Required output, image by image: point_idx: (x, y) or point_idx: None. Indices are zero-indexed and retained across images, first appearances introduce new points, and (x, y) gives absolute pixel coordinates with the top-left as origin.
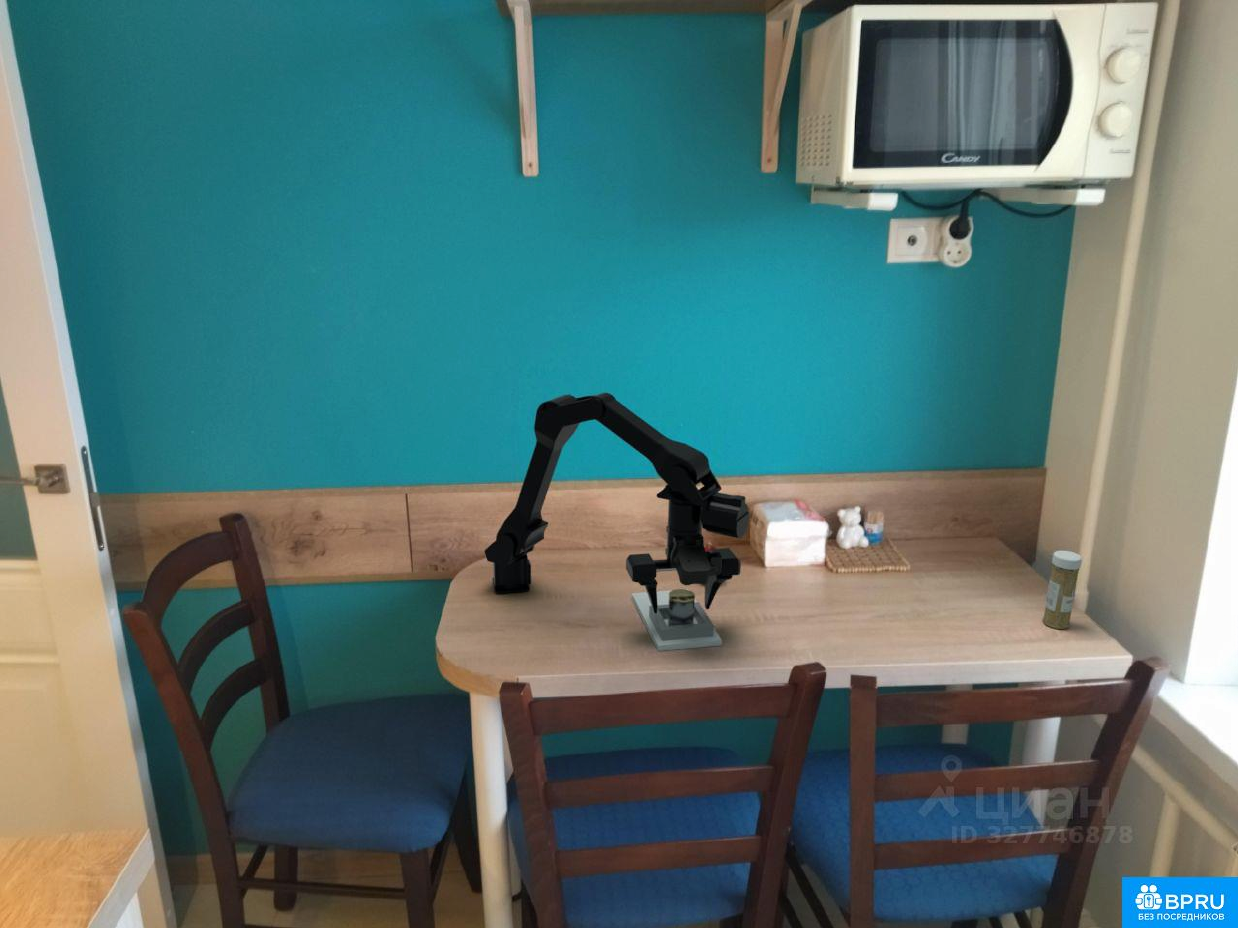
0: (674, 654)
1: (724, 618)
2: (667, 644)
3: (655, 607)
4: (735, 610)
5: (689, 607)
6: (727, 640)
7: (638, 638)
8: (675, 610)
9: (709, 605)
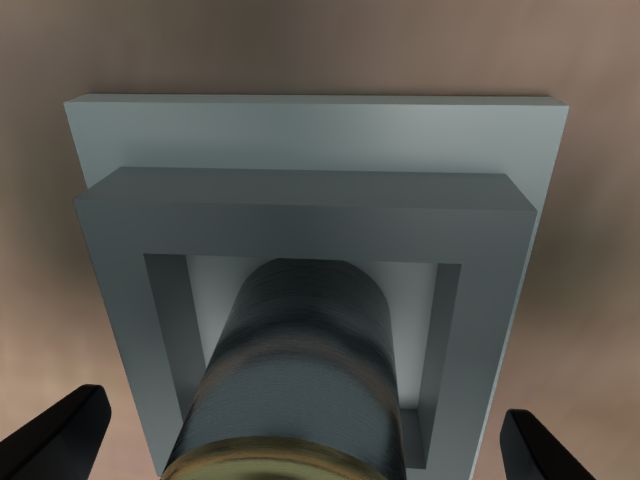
0: (452, 21)
1: (61, 364)
2: (491, 108)
3: (554, 455)
4: (8, 411)
5: (236, 393)
6: (47, 151)
7: (590, 276)
8: (370, 392)
9: (59, 405)
